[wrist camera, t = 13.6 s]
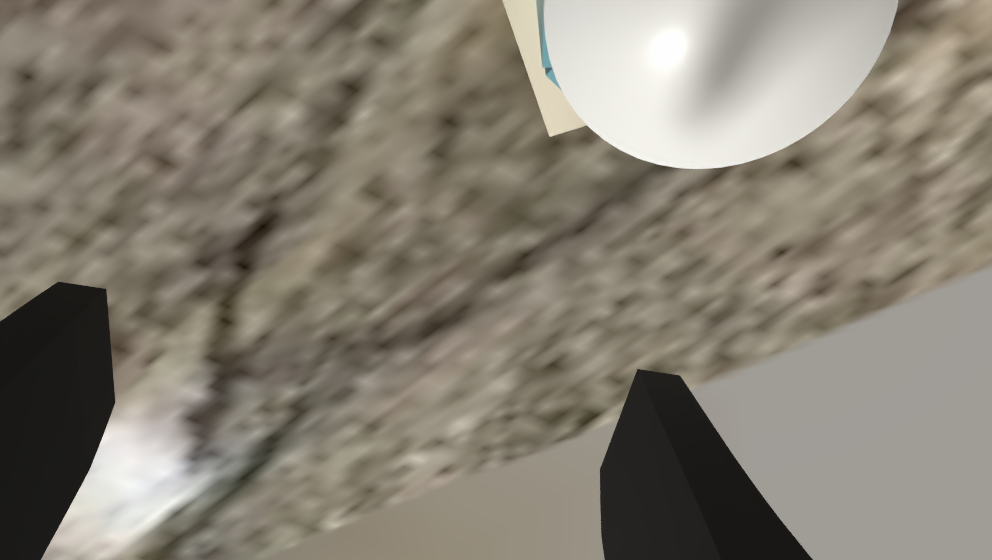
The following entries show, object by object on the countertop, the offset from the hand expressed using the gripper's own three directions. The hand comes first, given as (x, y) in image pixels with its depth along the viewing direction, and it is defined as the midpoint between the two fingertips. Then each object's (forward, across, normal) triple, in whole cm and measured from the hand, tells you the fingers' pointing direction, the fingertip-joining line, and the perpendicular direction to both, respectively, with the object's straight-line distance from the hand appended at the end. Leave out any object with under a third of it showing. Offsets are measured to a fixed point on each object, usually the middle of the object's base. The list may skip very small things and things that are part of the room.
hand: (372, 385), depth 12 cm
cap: (+9, -4, -5) cm, 11 cm away
